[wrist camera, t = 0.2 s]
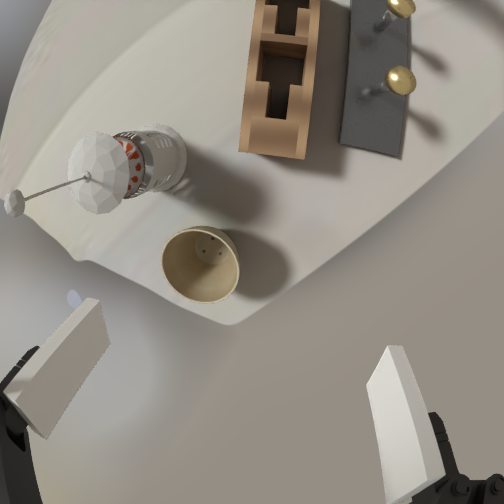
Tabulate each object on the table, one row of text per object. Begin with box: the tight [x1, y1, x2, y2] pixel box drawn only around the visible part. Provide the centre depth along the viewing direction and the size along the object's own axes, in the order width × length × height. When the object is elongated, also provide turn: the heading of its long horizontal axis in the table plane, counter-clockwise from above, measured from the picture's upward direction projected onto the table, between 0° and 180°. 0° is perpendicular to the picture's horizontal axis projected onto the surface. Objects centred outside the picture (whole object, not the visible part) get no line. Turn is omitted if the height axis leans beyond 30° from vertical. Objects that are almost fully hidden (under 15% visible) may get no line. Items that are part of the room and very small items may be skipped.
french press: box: [4, 124, 187, 217], centre depth 24 cm, size 10×12×25 cm
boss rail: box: [339, 0, 416, 157], centre depth 22 cm, size 26×8×10 cm, turn 174°
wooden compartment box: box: [239, 0, 320, 160], centre depth 26 cm, size 24×7×6 cm, turn 174°
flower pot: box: [161, 226, 240, 304], centre depth 37 cm, size 10×10×7 cm
